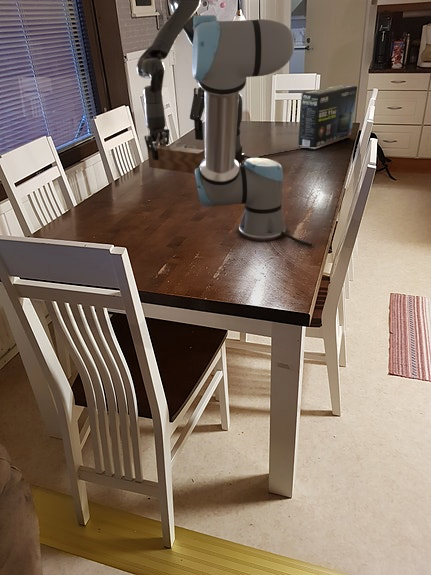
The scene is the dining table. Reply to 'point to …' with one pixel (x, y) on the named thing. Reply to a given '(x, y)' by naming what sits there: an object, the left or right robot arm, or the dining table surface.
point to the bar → (176, 158)
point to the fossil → (184, 146)
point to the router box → (326, 115)
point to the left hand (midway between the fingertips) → (159, 158)
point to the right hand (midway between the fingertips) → (209, 134)
